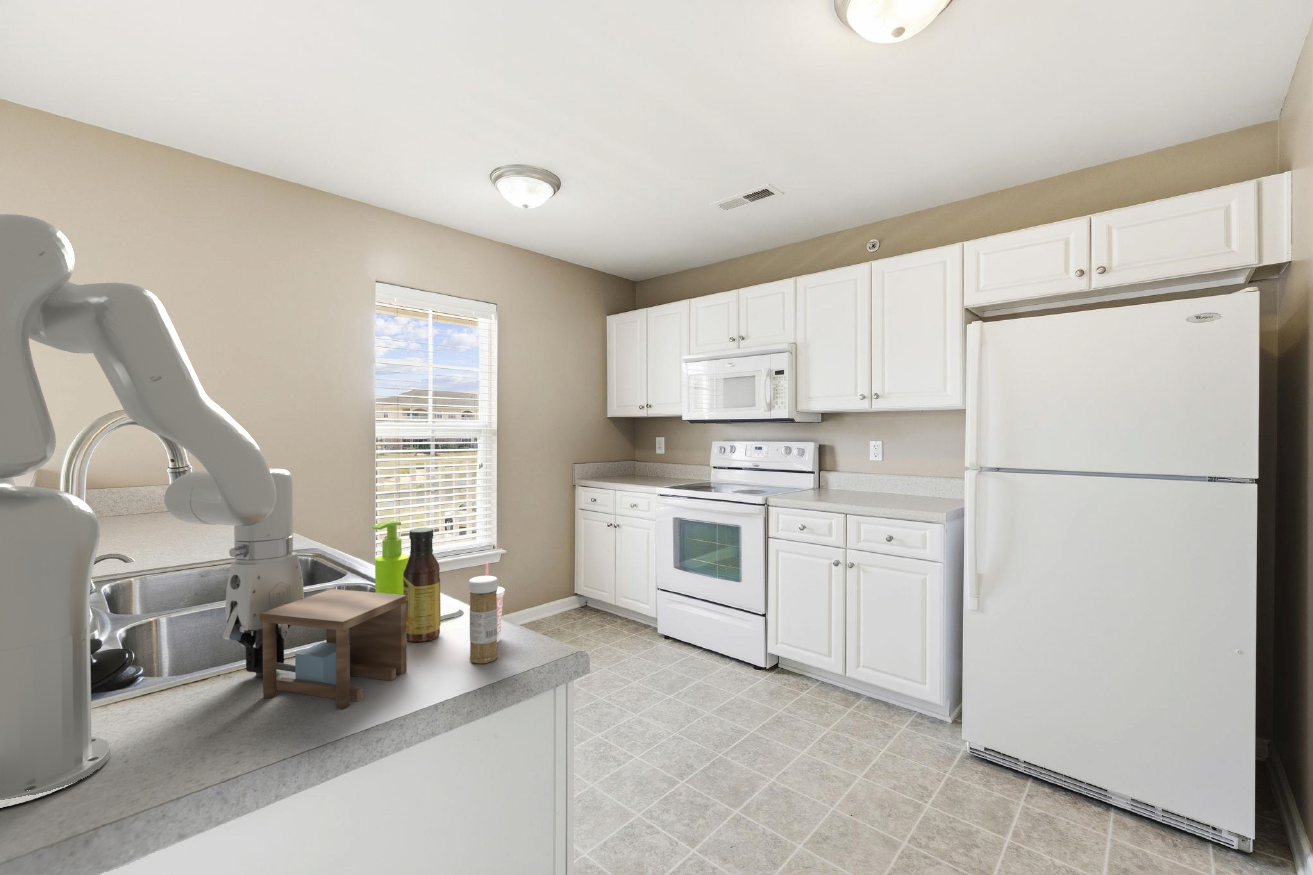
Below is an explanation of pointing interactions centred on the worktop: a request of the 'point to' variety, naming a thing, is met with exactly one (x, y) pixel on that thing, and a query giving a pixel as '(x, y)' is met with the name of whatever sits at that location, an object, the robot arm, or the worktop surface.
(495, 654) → the sprinkles bottle
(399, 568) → the soap dispenser
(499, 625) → the beverage cup
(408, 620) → the sauce bottle
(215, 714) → the worktop surface
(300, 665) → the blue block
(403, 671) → the walnut shelf
